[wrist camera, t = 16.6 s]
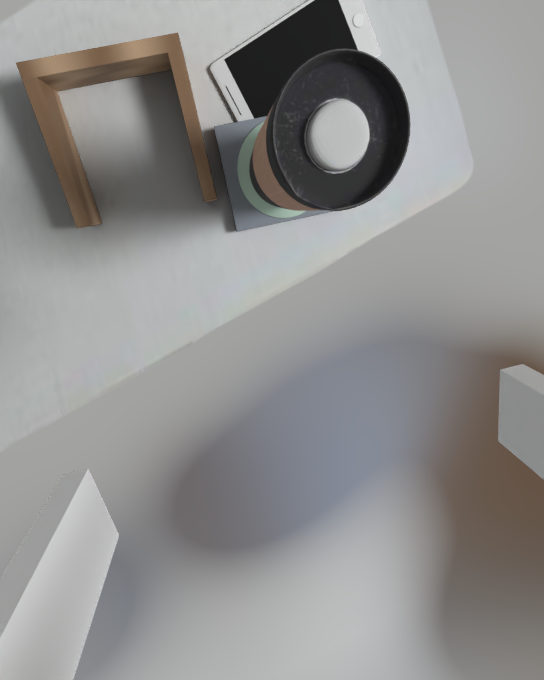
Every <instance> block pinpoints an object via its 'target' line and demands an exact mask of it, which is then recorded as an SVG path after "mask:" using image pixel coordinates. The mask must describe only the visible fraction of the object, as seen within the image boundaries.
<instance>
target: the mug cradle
mask: <svg viewBox="0 0 544 680" xmlns="http://www.w3.org/2000/svg"><path fill="white" fill-rule="evenodd" d="M16 64H17V67H18V70H19V72H20V75H21V78H22V81H23V83H24V86H25V89H26V91H27V94H28V97H29V99H30V102H31V105H32V108H33V110H34V113H35V116H36V118H37V121H38V124H39V127H40V129H41V132H42V135H43V137H44V140H45V143H46V145H47V148H48V151H49V154H50V156H51V159H52V162H53V164H54V167H55V170H56V173H57V175H58V178H59V181H60V183H61V186H62V189H63V191H64V194H65V197H66V200H67V202H68V205H69V208H70V210H71V213H72V216H73V219H74V221H75V224H76V227H77V228H82V227H89V226H95V225H99V224H103V223H102V220H101V217H100V214H99V212H98V209H97V206H96V203H95V200H94V197H93V194H92V191H91V188H90V185H89V182H88V180H87V177H86V174H85V171H84V168H83V165H82V162H81V159H80V156H79V153H78V151H77V148H76V145H75V142H74V139H73V136H72V133H71V130H70V127H69V124H68V121H67V119H66V116H65V113H64V110H63V107H62V104H61V101H60V98H59V95H58V92H57V91H62V90H67V89H72V88H77V87H83V86H88V85H93V84H98V83H104V82H109V81H114V80H119V79H125V78H130V77H135V76H141V75H146V74H151V73H156V72H162V71H167V70H172V72H173V76H174V80H175V84H176V88H177V92H178V96H179V100H180V104H181V108H182V112H183V117H184V121H185V125H186V129H187V133H188V137H189V141H190V145H191V149H192V153H193V157H194V161H195V166H196V170H197V174H198V178H199V182H200V186H201V190H202V194H203V198H204V202H210V201H214V200H217V196H216V192H215V188H214V184H213V179H212V175H211V171H210V166H209V162H208V158H207V154H206V149H205V145H204V141H203V136H202V132H201V128H200V123H199V119H198V115H197V111H196V106H195V102H194V98H193V93H192V89H191V85H190V80H189V76H188V72H187V68H186V63H185V59H184V55H183V51H182V47H181V43H180V39H179V35H178V33H174V34H169V35H163V36H158V37H152V38H147V39H142V40H136V41H131V42H125V43H120V44H115V45H109V46H104V47H99V48H93V49H88V50H82V51H77V52H72V53H66V54H61V55H55V56H50V57H45V58H39V59H34V60H29V61H23V62H18V63H16Z"/></svg>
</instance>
